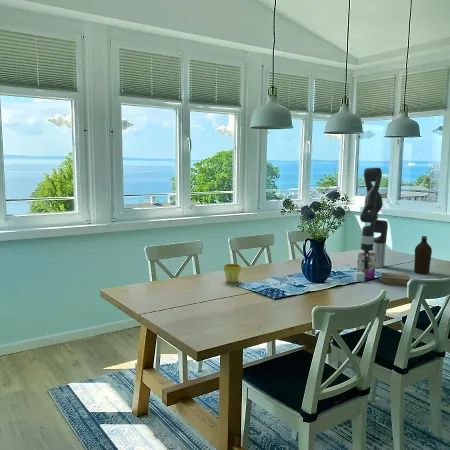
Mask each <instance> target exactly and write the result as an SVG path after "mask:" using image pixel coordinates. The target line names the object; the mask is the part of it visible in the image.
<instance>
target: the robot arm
mask: <svg viewBox="0 0 450 450" xmlns="http://www.w3.org/2000/svg"><path fill="white" fill-rule="evenodd" d="M382 175H383V172H382V169H381V167H367V168H364V169H363V179H364V184H365V188H366V195H365V198H364V205H363V208H362V211H361V212H360V215H359V220H360V221H361V222H362V223H368V224H369V223H370V225H364V226H363V227H362V229H361V231H362V232H361V233H362V234H361V238H360V243H361V244H360V250H361V251H363V252H365V256H364V269H368V263H369V256H370V255H369V252H374V253H376V262H375V268H384V267H385V261H386V248H387V247H386V246H387V239H388V238H387V236H388V229H389V228H388V227H389V223H388V221H387V220H383V219H378V217H379V216H378V214H379V212H380V211H381V209H382V208H383V204H384V203H383V197H382V195H381V193H380V192H379V190H380V186H381V183H382ZM373 183H374V184H373ZM374 233H375V234H380V235H379V236H376V237H374V235H375V234H374ZM366 260H368V261H366Z"/></svg>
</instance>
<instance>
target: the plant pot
mask: <svg viewBox="0 0 450 450" xmlns="http://www.w3.org/2000/svg"><path fill="white" fill-rule="evenodd" d="M241 270H242V266H241V264H237V263H226V264H224V265H223V272H224V274H225V278H226V281H227V282H229V283H237V282H238V280H239V275H240V272H241Z"/></svg>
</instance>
